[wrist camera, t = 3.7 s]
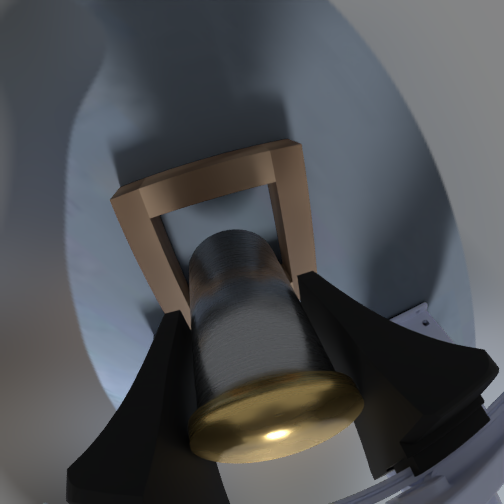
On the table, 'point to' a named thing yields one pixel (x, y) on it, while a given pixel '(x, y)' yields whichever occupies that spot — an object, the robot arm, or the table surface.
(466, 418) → the robot arm
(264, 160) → the socket block
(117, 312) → the table surface
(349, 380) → the jar with gold lid
